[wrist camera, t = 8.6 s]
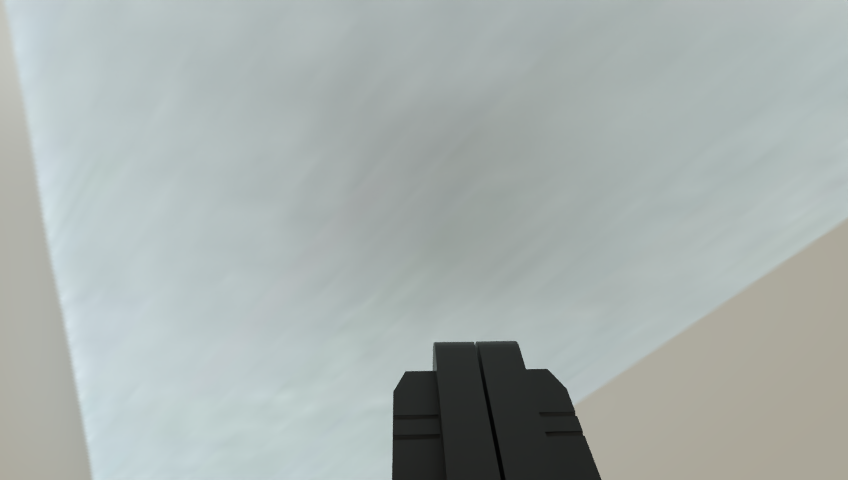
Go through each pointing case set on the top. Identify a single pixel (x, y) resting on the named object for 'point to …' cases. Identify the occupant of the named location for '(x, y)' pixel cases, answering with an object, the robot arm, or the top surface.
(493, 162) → the top surface
